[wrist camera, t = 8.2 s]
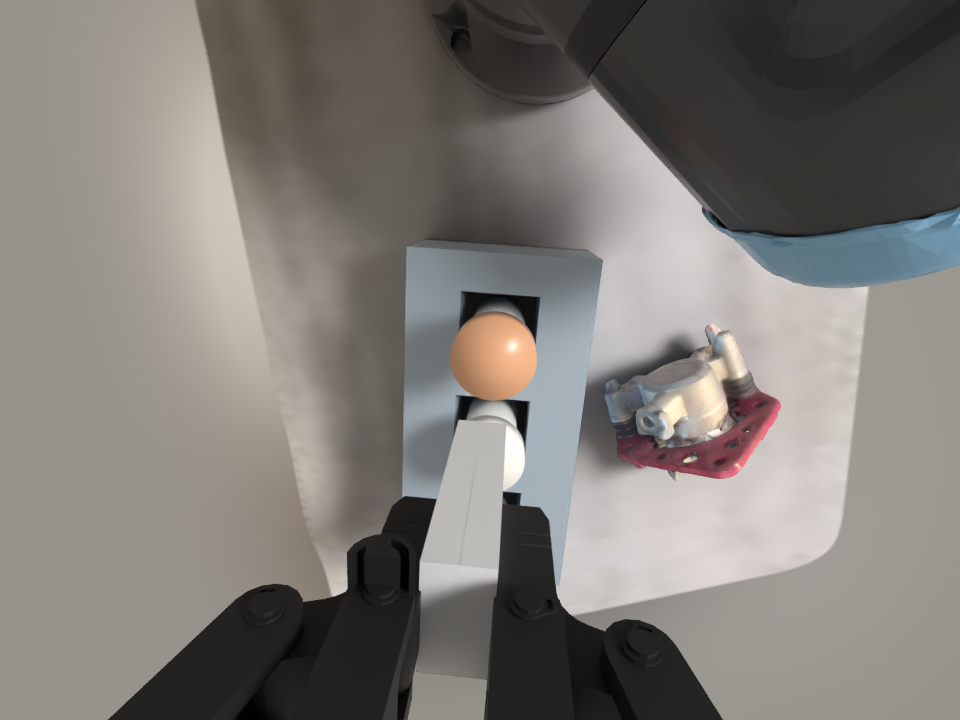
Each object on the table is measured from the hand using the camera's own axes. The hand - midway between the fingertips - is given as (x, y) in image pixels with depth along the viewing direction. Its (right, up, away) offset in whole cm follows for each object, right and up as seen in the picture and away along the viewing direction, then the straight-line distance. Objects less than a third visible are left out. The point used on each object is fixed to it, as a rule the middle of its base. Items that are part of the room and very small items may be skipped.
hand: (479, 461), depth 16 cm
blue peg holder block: (+1, 0, +25) cm, 25 cm away
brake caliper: (+15, 0, +24) cm, 29 cm away
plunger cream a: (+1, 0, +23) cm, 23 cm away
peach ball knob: (+1, +6, +19) cm, 20 cm away
